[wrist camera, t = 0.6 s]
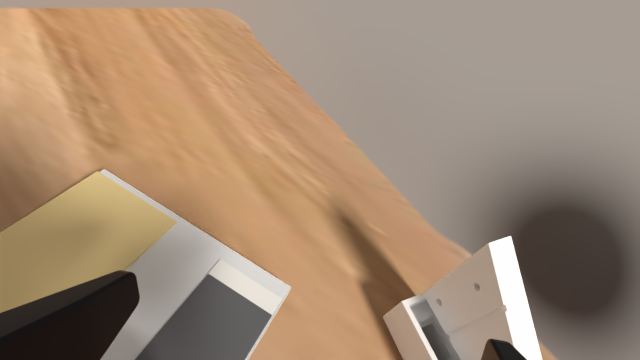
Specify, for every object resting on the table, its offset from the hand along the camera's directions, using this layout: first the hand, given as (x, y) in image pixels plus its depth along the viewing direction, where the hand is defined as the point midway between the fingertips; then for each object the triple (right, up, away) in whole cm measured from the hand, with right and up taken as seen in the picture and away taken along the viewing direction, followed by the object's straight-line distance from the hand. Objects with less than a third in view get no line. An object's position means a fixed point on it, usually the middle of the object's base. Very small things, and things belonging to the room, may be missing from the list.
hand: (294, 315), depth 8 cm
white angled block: (+8, -9, +14) cm, 18 cm away
